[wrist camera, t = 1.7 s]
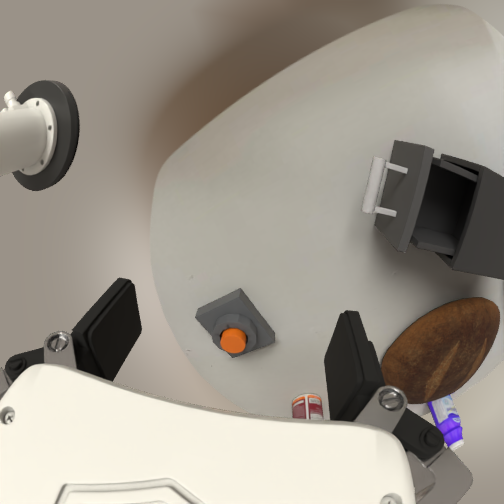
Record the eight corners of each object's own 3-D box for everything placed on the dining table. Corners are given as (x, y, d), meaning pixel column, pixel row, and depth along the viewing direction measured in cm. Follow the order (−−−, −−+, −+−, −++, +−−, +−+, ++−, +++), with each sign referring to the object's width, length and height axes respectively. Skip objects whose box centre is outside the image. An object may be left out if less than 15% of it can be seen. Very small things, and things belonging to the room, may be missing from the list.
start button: (217, 332, 39) (215, 340, 38) (237, 324, 38) (236, 332, 36) (231, 348, 40) (229, 356, 39) (251, 340, 39) (250, 348, 38)
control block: (198, 308, 42) (191, 324, 38) (240, 287, 40) (237, 304, 36) (234, 348, 45) (231, 366, 42) (275, 332, 43) (274, 350, 39)
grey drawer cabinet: (418, 237, 34) (452, 269, 25) (441, 153, 29) (484, 166, 20) (479, 252, 34) (511, 281, 25) (501, 182, 28) (540, 201, 20)
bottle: (451, 389, 50) (472, 440, 34) (437, 402, 52) (455, 452, 37) (437, 387, 49) (458, 442, 34) (422, 401, 52) (440, 455, 36)
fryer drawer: (344, 219, 33) (362, 244, 26) (363, 130, 28) (389, 132, 21) (448, 242, 33) (476, 267, 26) (469, 169, 28) (503, 183, 21)
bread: (364, 397, 50) (371, 429, 42) (396, 297, 39) (417, 333, 31) (463, 375, 47) (475, 400, 40) (507, 283, 36) (530, 307, 28)
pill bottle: (294, 409, 53) (295, 451, 43) (290, 394, 50) (290, 440, 40) (322, 404, 52) (326, 447, 42) (320, 390, 49) (325, 435, 39)
